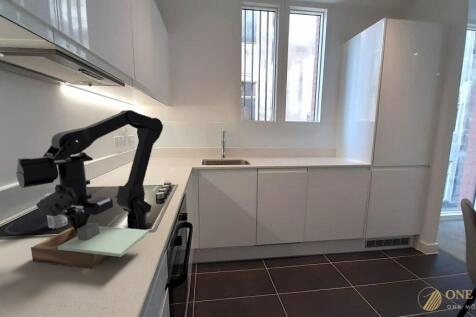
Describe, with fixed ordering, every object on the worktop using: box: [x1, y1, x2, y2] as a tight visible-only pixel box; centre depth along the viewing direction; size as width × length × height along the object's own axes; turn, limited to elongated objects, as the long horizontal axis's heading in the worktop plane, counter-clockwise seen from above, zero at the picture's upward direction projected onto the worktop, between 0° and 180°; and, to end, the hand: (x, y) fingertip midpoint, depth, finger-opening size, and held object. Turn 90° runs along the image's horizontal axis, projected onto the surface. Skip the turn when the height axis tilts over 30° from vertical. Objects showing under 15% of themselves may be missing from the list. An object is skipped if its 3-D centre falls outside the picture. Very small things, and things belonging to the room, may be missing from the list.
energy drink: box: [43, 191, 69, 230], centre depth 79 cm, size 5×5×12 cm
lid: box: [58, 222, 150, 257], centre depth 60 cm, size 12×18×4 cm, turn 79°
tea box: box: [30, 226, 110, 270], centre depth 63 cm, size 12×18×4 cm, turn 79°
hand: (79, 233), depth 62 cm, fingers closed
